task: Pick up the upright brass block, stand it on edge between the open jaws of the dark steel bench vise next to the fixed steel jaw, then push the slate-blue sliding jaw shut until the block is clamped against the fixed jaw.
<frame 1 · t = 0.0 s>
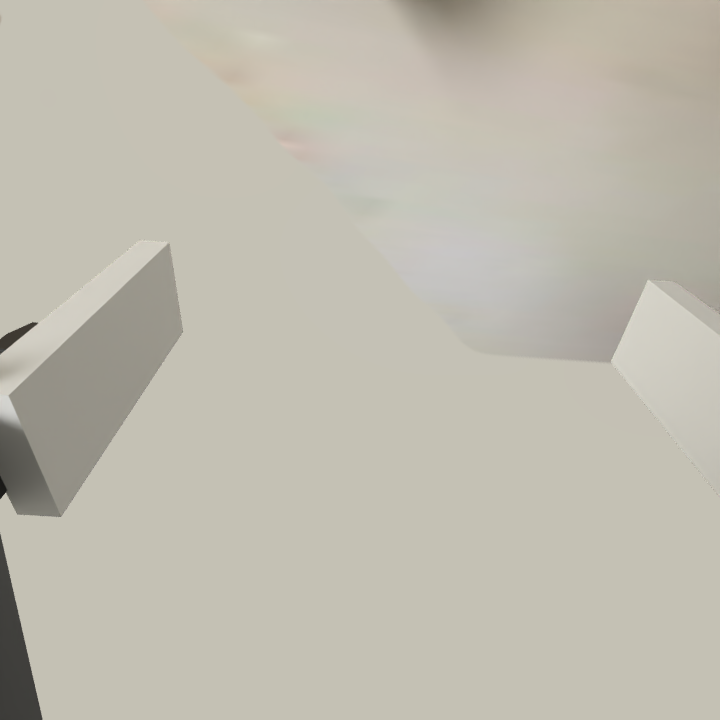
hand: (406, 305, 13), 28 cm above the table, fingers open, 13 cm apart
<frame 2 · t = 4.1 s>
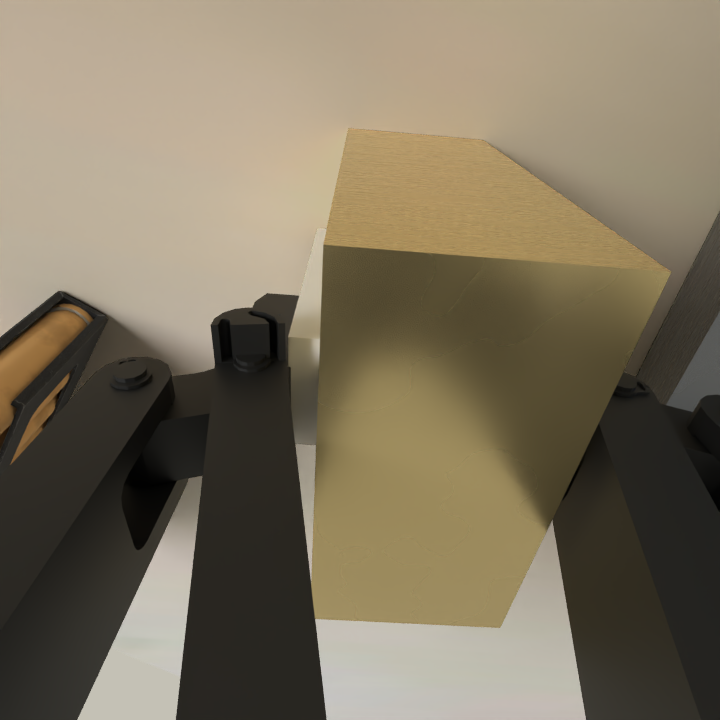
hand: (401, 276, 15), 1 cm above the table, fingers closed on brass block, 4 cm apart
ammunition clip: (46, 392, 19), on the table
brass block: (399, 262, 16), on the table, touching gripper
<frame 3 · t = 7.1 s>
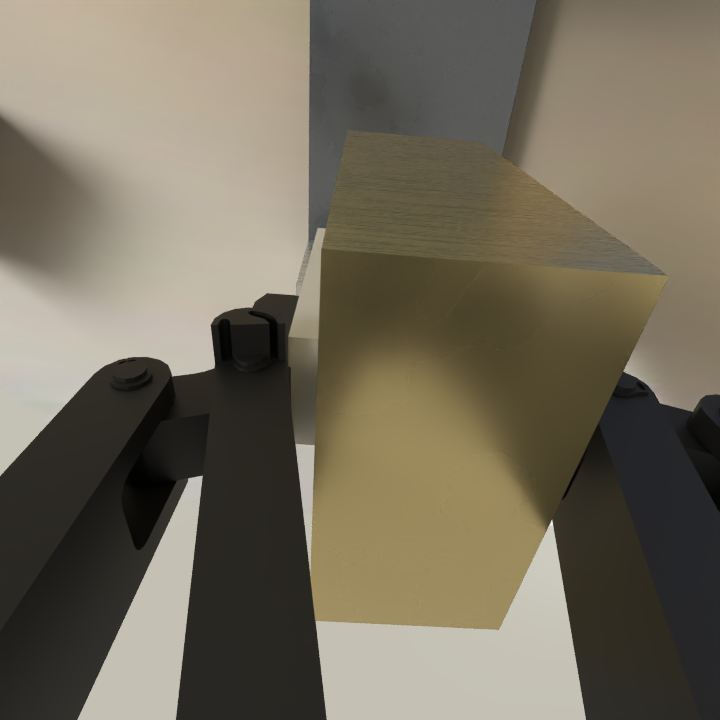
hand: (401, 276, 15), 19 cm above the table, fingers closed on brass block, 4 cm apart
brass block: (398, 264, 16), point 18 cm above the table, touching gripper
vise: (410, 85, 28), on the table
when the fingers open (4 cm above the table, at t = 10.3 s): brass block stays where it is, resting on vise.
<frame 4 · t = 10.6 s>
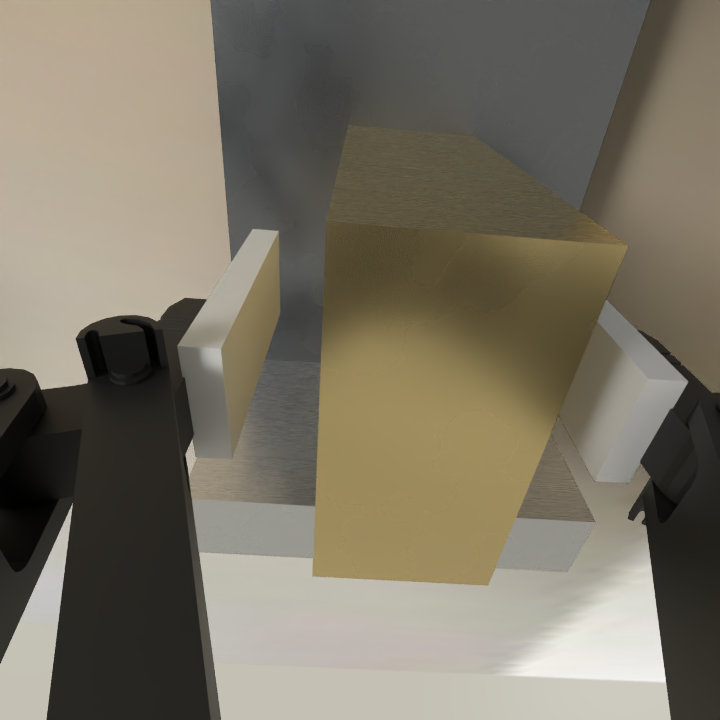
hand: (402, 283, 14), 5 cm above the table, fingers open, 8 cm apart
brass block: (396, 253, 17), point 2 cm above the table, touching vise
vise: (410, 106, 16), on the table
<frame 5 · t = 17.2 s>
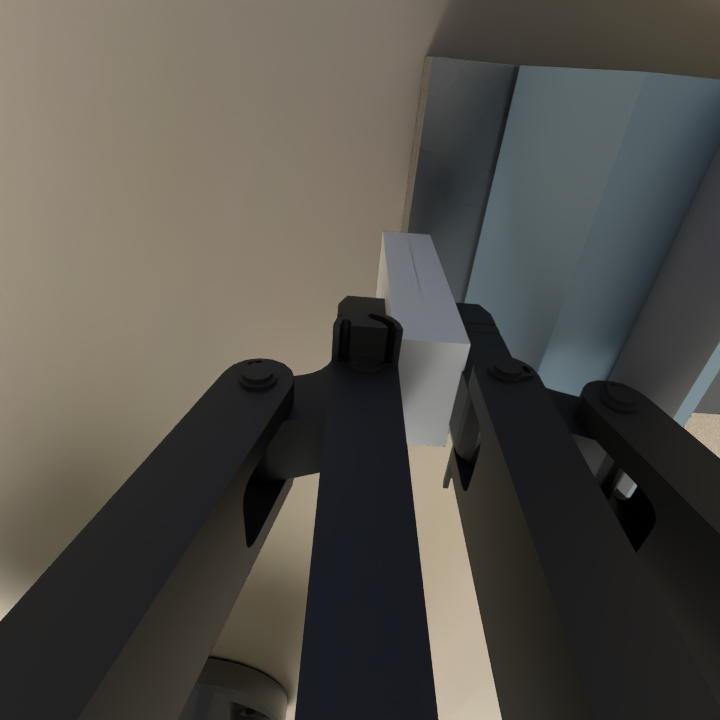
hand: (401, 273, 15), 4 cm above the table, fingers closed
sliding jaw: (573, 328, 13), point 6 cm above the table, slide at 1.0 cm, touching gripper
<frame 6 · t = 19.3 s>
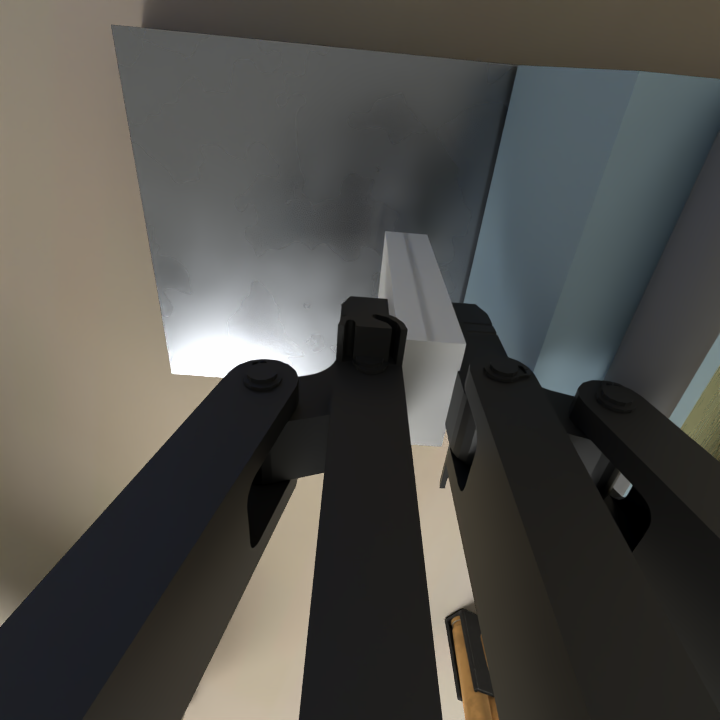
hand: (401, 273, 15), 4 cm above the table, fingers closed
ammunition clip: (503, 633, 35), on the table
brass block: (686, 281, 17), point 2 cm above the table, touching sliding jaw, vise
sliding jaw: (570, 328, 13), point 7 cm above the table, slide at 10.0 cm, touching brass block, gripper
vise: (523, 249, 18), on the table
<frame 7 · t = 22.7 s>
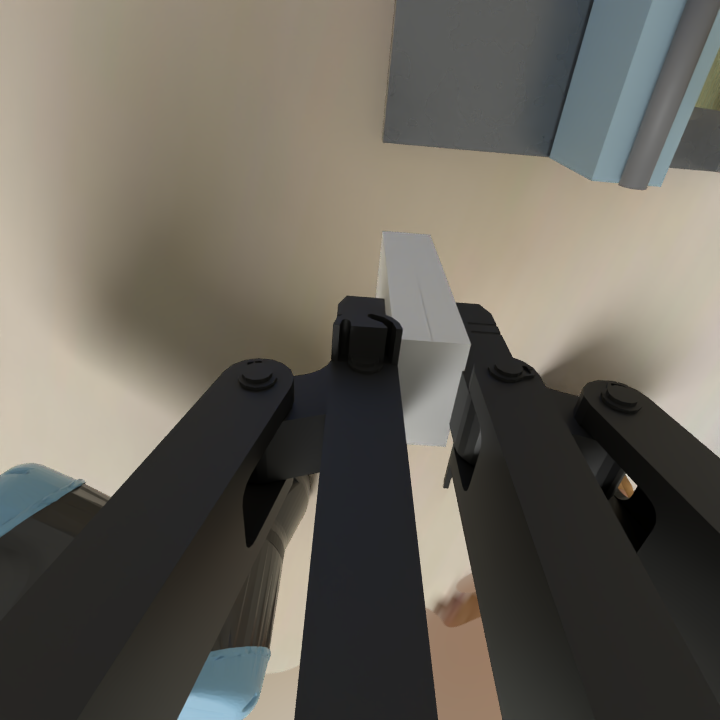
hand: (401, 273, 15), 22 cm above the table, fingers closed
brass block: (701, 65, 29), point 2 cm above the table, touching sliding jaw, vise
sliding jaw: (645, 56, 25), point 7 cm above the table, slide at 10.0 cm, touching brass block
vise: (602, 57, 30), on the table
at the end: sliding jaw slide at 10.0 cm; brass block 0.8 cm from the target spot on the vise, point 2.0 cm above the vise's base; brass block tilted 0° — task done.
